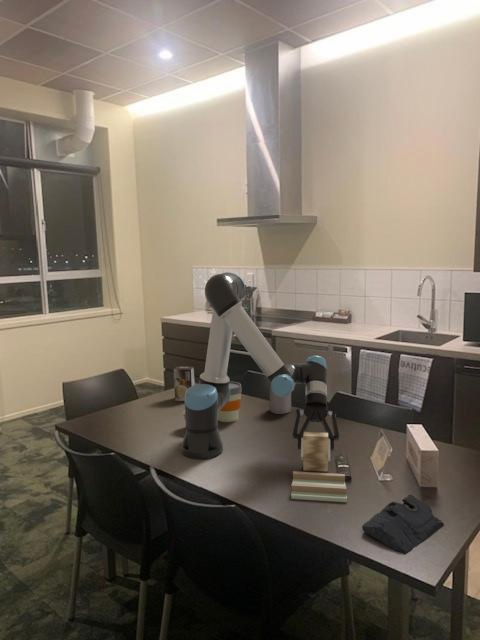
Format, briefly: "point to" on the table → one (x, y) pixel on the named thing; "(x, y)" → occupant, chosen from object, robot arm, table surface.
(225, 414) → the reusable coffee cup
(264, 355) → the robot arm
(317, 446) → the tan upright rectangular block
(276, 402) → the grey tin can
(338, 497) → the groove board
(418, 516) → the folded dark sweater
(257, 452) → the table surface
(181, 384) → the coffee box
